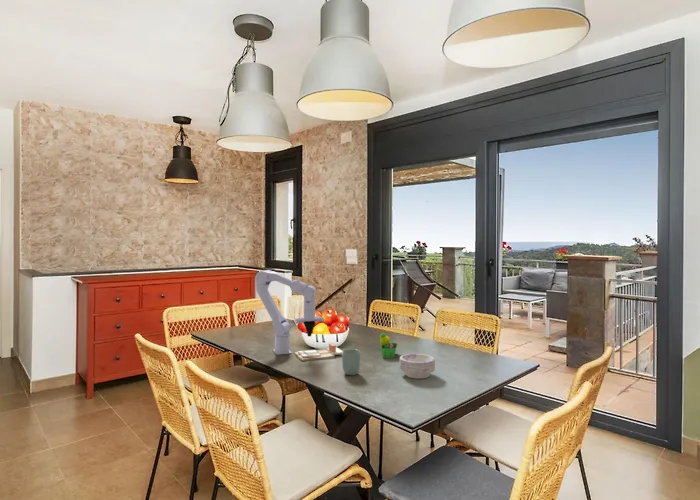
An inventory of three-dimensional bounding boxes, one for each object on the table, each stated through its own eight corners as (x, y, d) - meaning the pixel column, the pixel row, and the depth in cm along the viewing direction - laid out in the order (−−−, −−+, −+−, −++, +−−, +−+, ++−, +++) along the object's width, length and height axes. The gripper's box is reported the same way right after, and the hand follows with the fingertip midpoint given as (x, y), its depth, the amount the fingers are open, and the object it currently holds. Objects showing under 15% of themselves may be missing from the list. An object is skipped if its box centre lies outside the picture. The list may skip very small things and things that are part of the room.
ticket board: (294, 354, 215) (294, 350, 215) (325, 350, 221) (325, 347, 221) (301, 361, 202) (301, 357, 202) (334, 357, 208) (334, 354, 208)
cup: (344, 377, 179) (345, 354, 178) (340, 372, 186) (340, 349, 186) (362, 376, 181) (362, 353, 180) (357, 370, 188) (357, 348, 188)
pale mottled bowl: (410, 368, 193) (411, 351, 193) (440, 375, 183) (441, 357, 183) (392, 376, 181) (392, 358, 181) (423, 384, 171) (423, 364, 171)
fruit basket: (395, 359, 207) (395, 336, 207) (377, 357, 209) (378, 335, 209) (397, 353, 218) (397, 331, 218) (380, 351, 220) (380, 330, 220)
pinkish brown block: (326, 349, 219) (327, 342, 219) (336, 348, 221) (337, 341, 221) (333, 354, 210) (333, 347, 210) (343, 353, 212) (343, 346, 212)
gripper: (297, 311, 207) (297, 338, 208) (325, 310, 213) (325, 336, 213) (294, 309, 214) (293, 335, 214) (321, 307, 220) (320, 333, 220)
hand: (309, 336), depth 214 cm, fingers closed
